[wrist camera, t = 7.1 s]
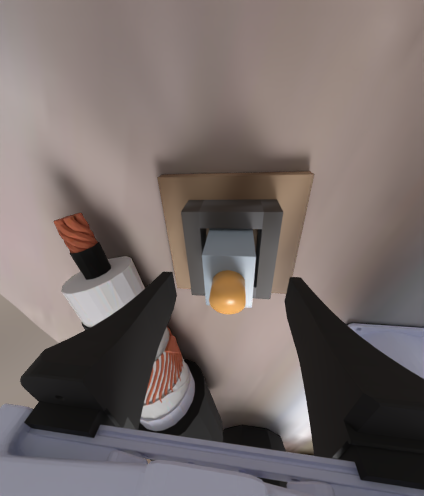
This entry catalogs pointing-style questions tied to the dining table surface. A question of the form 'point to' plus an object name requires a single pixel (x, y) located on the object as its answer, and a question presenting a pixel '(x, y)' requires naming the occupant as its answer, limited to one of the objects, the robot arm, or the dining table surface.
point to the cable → (168, 355)
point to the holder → (236, 221)
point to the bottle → (255, 442)
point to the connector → (229, 269)
